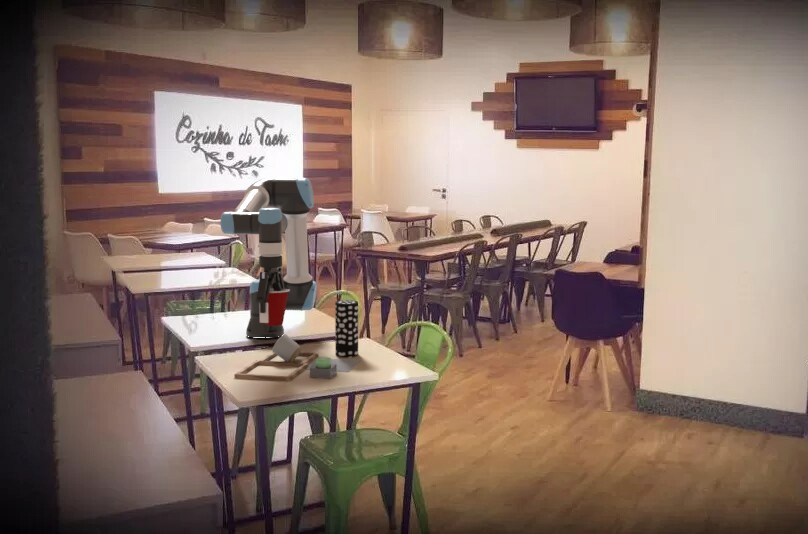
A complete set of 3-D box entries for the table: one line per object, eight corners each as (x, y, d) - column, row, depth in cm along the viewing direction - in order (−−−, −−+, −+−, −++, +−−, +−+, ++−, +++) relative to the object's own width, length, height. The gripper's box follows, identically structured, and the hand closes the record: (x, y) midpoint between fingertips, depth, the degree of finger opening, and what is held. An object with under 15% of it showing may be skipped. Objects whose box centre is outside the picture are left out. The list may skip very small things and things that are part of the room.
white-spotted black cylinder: (332, 354, 290) (332, 301, 288) (354, 352, 293) (354, 299, 291) (339, 359, 283) (339, 304, 280) (361, 357, 286) (361, 303, 283)
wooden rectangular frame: (272, 354, 290) (272, 350, 289) (321, 357, 286) (321, 353, 286) (234, 378, 256) (234, 374, 256) (289, 382, 253) (289, 377, 253)
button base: (316, 373, 264) (316, 363, 263) (336, 374, 263) (336, 364, 262) (309, 378, 257) (309, 368, 257) (330, 379, 256) (330, 369, 255)
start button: (318, 363, 262) (318, 356, 262) (332, 364, 261) (332, 357, 261) (313, 367, 257) (313, 360, 257) (328, 368, 256) (328, 361, 256)
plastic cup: (291, 320, 270) (290, 286, 268) (289, 327, 259) (289, 291, 257) (259, 320, 269) (258, 286, 267) (256, 327, 258) (255, 291, 256)
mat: (317, 359, 283) (317, 358, 283) (360, 361, 280) (360, 360, 280) (303, 370, 267) (303, 369, 267) (348, 373, 264) (348, 371, 264)
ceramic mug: (287, 368, 276) (293, 354, 272) (269, 354, 278) (274, 340, 273) (304, 351, 285) (310, 338, 280) (286, 339, 286) (291, 325, 281)
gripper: (273, 250, 272) (274, 311, 274) (245, 259, 247) (246, 325, 250) (294, 251, 270) (294, 312, 273) (267, 259, 246) (268, 326, 249)
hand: (271, 318), depth 262 cm, fingers open, 13 cm apart
